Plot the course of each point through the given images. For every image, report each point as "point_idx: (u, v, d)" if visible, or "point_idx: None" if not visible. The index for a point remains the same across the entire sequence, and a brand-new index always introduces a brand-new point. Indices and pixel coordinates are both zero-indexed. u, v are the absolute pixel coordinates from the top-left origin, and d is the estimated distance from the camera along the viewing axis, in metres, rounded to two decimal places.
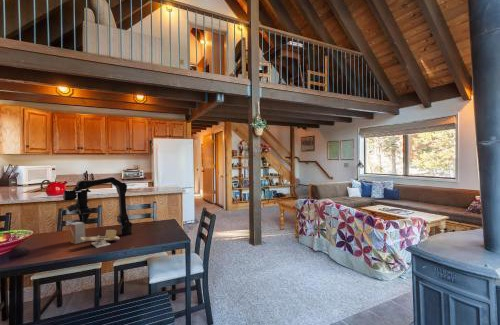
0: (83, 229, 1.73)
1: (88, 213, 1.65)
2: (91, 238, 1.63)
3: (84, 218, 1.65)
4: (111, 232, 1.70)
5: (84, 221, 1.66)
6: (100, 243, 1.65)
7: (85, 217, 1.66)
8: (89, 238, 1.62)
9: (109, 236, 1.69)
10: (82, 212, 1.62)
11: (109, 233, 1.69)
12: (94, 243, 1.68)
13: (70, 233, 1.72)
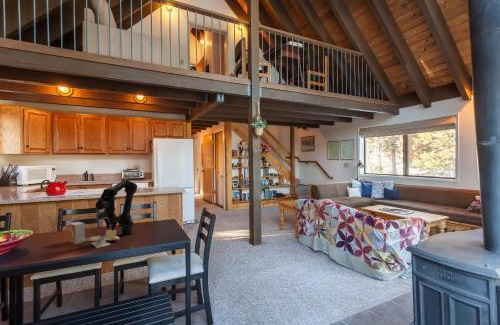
0: (83, 229, 1.73)
1: (116, 221, 1.68)
2: (91, 238, 1.63)
3: (112, 226, 1.68)
4: (111, 232, 1.70)
5: (112, 229, 1.68)
6: (100, 243, 1.65)
7: (113, 225, 1.68)
8: (89, 238, 1.62)
9: (109, 236, 1.69)
10: (111, 220, 1.64)
11: (109, 233, 1.69)
12: (94, 243, 1.68)
13: (70, 233, 1.72)
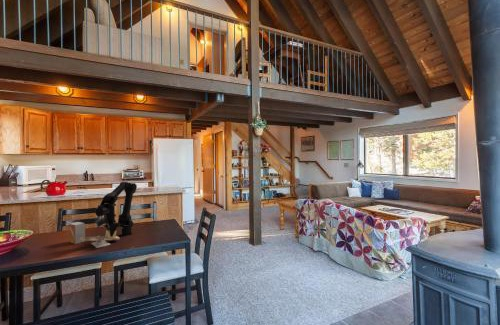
0: (83, 229, 1.73)
1: (115, 227, 1.69)
2: (91, 238, 1.63)
3: (111, 232, 1.69)
4: None
5: (111, 235, 1.70)
6: (100, 243, 1.65)
7: (112, 231, 1.69)
8: (89, 238, 1.62)
9: (109, 236, 1.69)
10: (111, 227, 1.64)
11: (109, 233, 1.69)
12: (94, 243, 1.68)
13: (70, 233, 1.72)
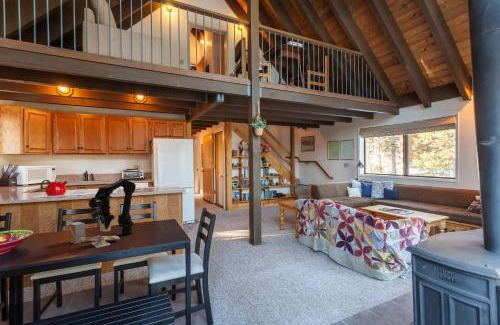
0: (83, 229, 1.73)
1: (110, 219, 1.67)
2: (91, 238, 1.63)
3: (106, 224, 1.67)
4: None
5: (106, 227, 1.67)
6: (100, 243, 1.65)
7: (107, 223, 1.67)
8: (89, 238, 1.62)
9: (104, 229, 1.67)
10: (106, 219, 1.62)
11: (104, 226, 1.67)
12: (94, 243, 1.68)
13: (70, 233, 1.72)
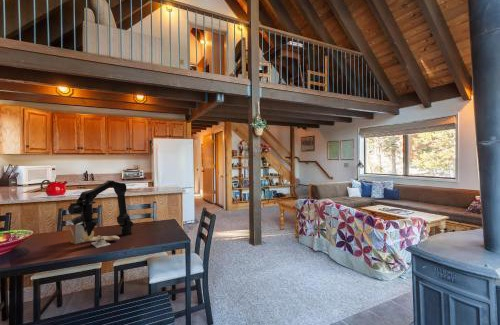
0: (83, 229, 1.73)
1: (92, 226, 1.59)
2: None
3: (88, 231, 1.59)
4: None
5: (88, 234, 1.60)
6: (100, 243, 1.65)
7: (89, 230, 1.60)
8: None
9: (86, 237, 1.60)
10: (87, 225, 1.54)
11: (86, 234, 1.60)
12: (94, 243, 1.68)
13: (70, 233, 1.72)
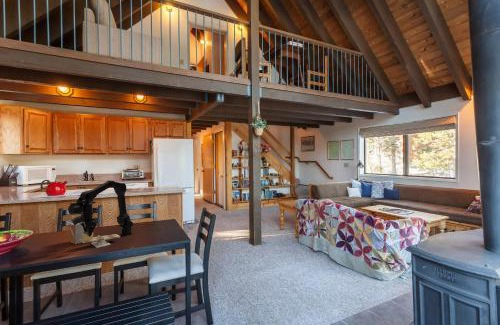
0: None
1: (93, 226, 1.58)
2: None
3: (89, 231, 1.58)
4: (87, 234, 1.60)
5: (89, 234, 1.59)
6: (100, 243, 1.65)
7: (90, 230, 1.58)
8: None
9: (86, 239, 1.59)
10: (87, 225, 1.54)
11: (85, 235, 1.59)
12: (94, 243, 1.68)
13: (70, 233, 1.72)
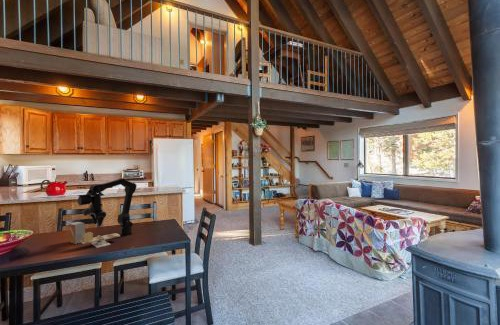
0: (83, 229, 1.73)
1: (103, 216, 1.69)
2: None
3: (99, 221, 1.69)
4: (87, 235, 1.60)
5: (99, 224, 1.70)
6: (100, 243, 1.65)
7: (100, 220, 1.69)
8: None
9: (85, 240, 1.59)
10: (97, 216, 1.65)
11: (85, 237, 1.59)
12: (94, 243, 1.68)
13: (70, 233, 1.72)
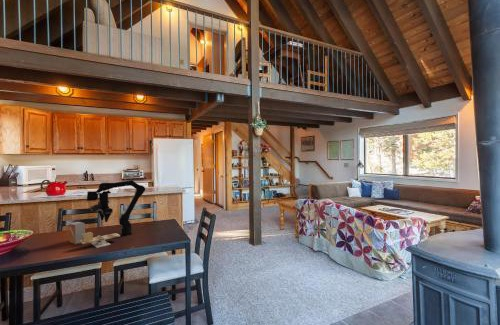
0: (83, 229, 1.73)
1: (109, 213, 1.78)
2: None
3: (106, 217, 1.78)
4: (87, 235, 1.60)
5: (106, 220, 1.79)
6: (100, 243, 1.65)
7: (107, 216, 1.79)
8: None
9: (85, 240, 1.59)
10: (104, 212, 1.75)
11: (85, 237, 1.59)
12: (94, 243, 1.68)
13: (70, 233, 1.72)
